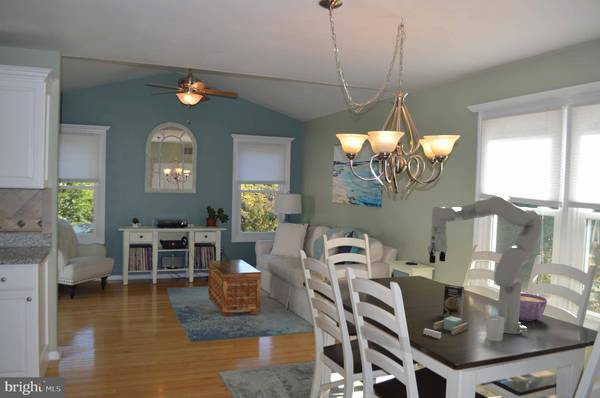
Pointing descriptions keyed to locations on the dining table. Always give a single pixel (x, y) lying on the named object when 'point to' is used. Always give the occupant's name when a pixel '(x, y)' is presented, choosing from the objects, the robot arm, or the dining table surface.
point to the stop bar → (432, 333)
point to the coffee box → (453, 301)
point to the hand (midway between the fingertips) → (437, 262)
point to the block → (451, 322)
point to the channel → (453, 330)
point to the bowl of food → (531, 307)
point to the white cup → (494, 327)
